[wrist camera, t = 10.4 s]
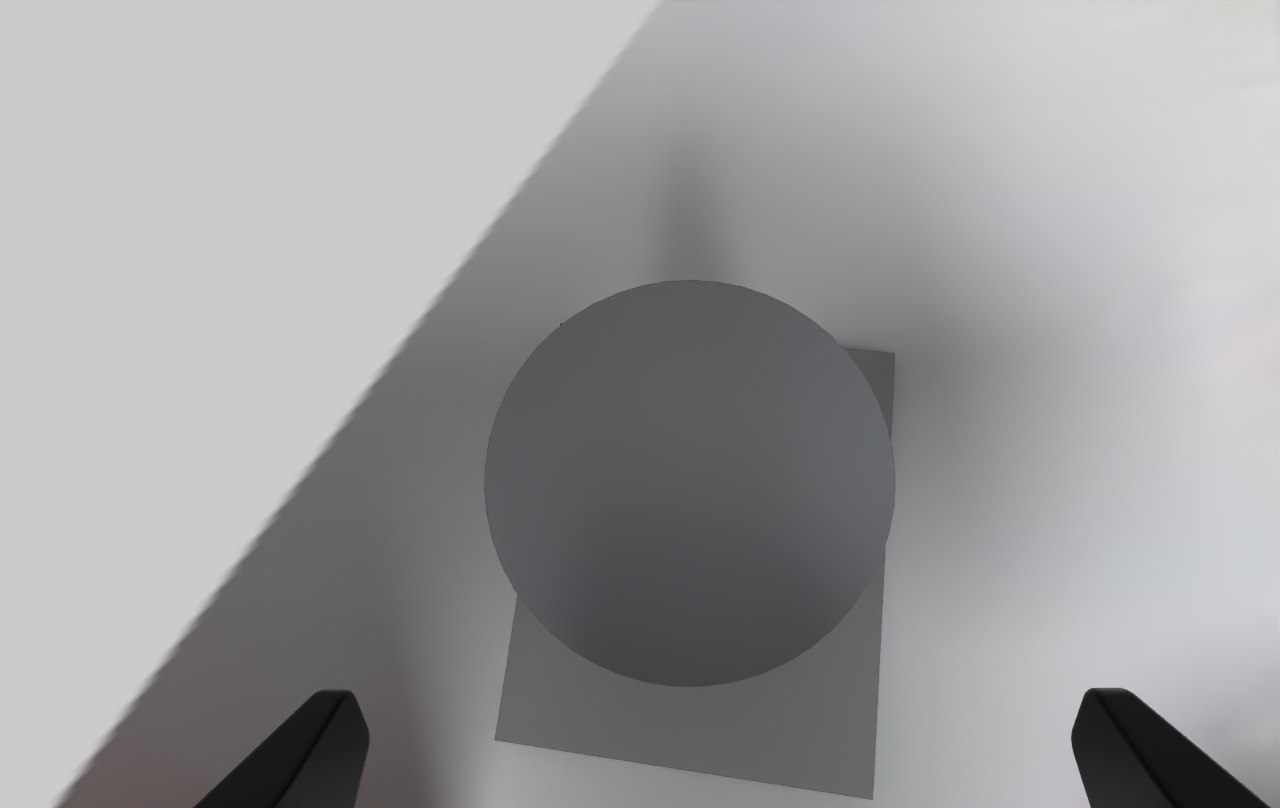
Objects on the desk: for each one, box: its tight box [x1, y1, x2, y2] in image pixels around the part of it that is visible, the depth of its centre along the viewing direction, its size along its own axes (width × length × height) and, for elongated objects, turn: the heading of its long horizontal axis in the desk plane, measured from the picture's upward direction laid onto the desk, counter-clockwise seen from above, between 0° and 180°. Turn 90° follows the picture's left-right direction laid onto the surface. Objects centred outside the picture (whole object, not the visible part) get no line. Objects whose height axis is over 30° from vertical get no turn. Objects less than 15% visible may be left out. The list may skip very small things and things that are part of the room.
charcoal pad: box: [495, 323, 895, 800], centre depth 21 cm, size 12×10×1 cm
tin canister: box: [484, 280, 895, 687], centre depth 15 cm, size 5×5×12 cm
